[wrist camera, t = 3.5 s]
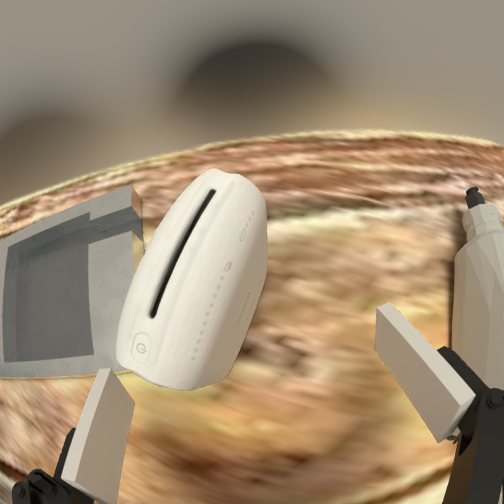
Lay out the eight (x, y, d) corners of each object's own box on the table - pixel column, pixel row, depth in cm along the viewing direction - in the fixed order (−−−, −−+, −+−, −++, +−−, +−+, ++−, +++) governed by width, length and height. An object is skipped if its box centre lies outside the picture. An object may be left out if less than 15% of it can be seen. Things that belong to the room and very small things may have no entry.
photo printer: (228, 387, 19) (172, 415, 7) (176, 365, 20) (75, 356, 8) (275, 264, 22) (278, 158, 11) (225, 248, 23) (187, 139, 12)
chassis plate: (1, 378, 18) (-14, 376, 16) (3, 253, 25) (-9, 245, 22) (160, 368, 19) (147, 367, 17) (141, 199, 26) (131, 184, 23)
